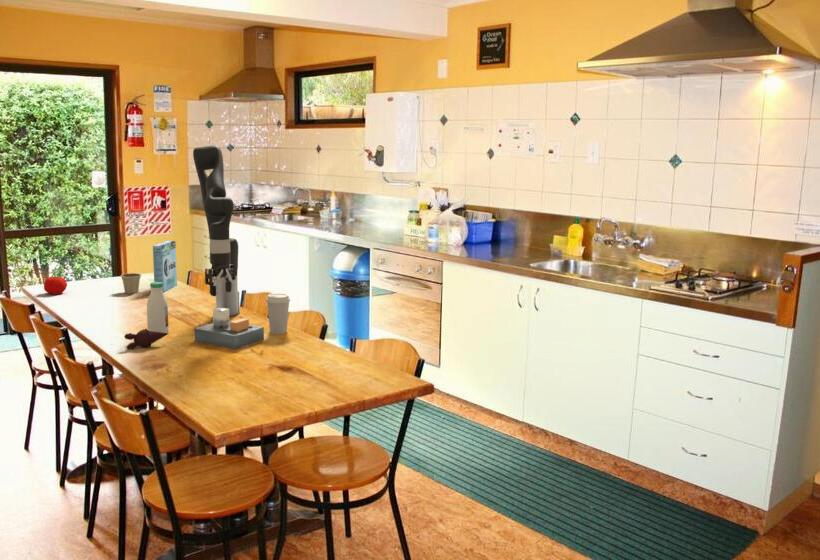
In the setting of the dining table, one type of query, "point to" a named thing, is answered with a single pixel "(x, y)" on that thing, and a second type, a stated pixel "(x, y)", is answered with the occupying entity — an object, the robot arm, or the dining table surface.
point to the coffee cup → (278, 312)
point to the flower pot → (131, 282)
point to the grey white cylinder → (221, 317)
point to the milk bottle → (157, 309)
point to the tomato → (55, 285)
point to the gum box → (165, 264)
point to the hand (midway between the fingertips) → (220, 293)
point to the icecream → (143, 338)
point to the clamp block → (239, 324)
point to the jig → (228, 336)
